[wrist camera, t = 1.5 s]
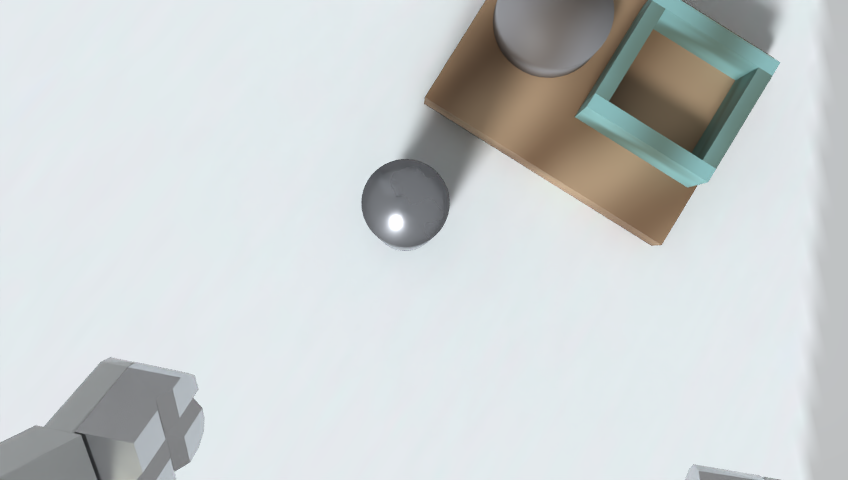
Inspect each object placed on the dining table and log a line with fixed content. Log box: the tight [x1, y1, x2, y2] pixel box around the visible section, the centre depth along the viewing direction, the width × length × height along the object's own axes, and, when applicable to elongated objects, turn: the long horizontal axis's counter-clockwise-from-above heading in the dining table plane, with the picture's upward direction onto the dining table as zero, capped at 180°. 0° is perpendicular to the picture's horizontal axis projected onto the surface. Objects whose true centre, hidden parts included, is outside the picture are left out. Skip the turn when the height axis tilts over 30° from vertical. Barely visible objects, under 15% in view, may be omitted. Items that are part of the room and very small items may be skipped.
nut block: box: [424, 0, 780, 246], centre depth 37 cm, size 15×12×4 cm
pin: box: [362, 159, 449, 251], centre depth 33 cm, size 4×4×10 cm
